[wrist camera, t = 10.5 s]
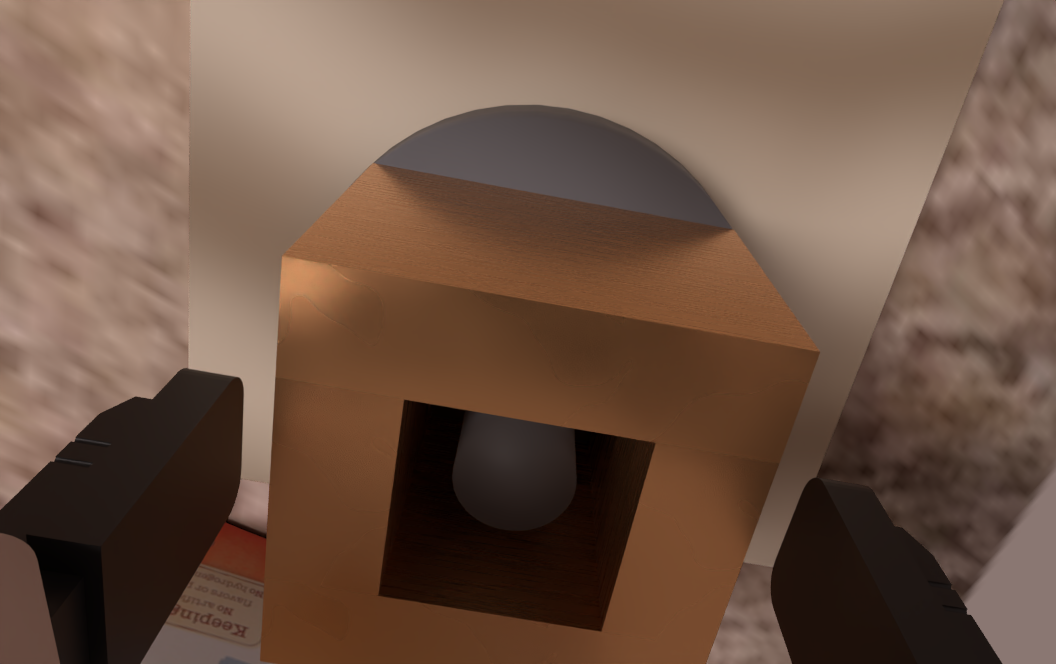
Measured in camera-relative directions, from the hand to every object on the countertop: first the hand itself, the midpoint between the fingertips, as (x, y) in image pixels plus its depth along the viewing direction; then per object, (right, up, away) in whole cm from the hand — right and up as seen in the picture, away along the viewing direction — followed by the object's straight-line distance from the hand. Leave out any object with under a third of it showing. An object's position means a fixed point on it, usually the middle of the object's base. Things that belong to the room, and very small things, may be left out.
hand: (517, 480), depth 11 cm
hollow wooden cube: (0, +2, +4) cm, 4 cm away
